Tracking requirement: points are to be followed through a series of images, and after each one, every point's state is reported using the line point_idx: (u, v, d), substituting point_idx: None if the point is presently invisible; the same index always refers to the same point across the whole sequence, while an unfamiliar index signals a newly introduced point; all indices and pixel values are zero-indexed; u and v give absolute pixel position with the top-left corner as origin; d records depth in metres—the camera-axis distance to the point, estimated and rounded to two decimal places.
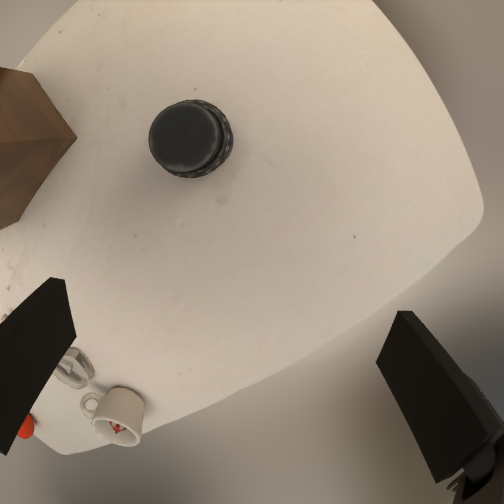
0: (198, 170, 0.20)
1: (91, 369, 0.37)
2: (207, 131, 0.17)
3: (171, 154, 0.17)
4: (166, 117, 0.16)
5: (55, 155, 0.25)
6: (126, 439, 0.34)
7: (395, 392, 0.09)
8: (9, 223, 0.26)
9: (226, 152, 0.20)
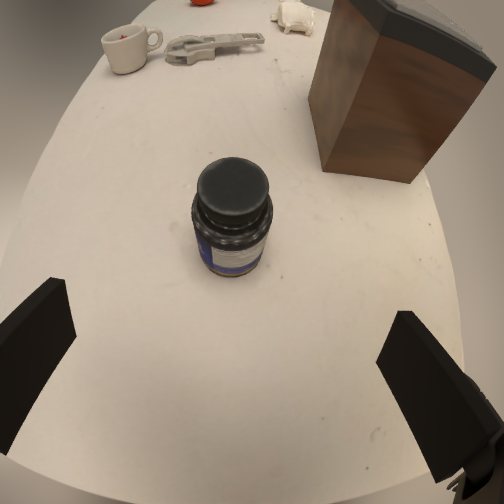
0: None
1: (169, 62, 0.41)
2: (219, 202, 0.18)
3: (227, 168, 0.19)
4: (260, 185, 0.18)
5: (323, 146, 0.32)
6: (111, 36, 0.34)
7: (395, 392, 0.09)
8: (311, 88, 0.36)
9: (195, 222, 0.20)
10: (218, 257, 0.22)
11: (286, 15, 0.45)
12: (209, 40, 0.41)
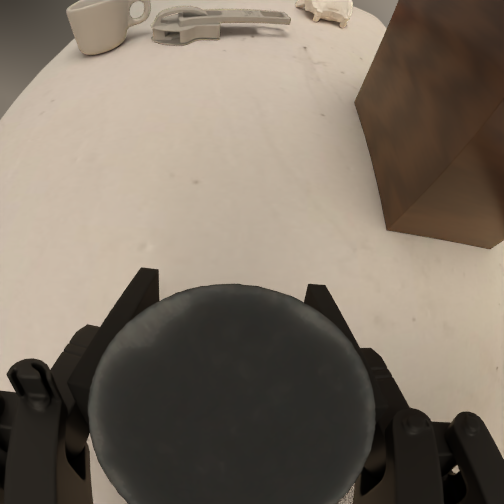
0: None
1: (156, 40, 0.27)
2: None
3: (210, 347, 0.04)
4: (346, 429, 0.04)
5: (392, 185, 0.18)
6: (83, 6, 0.20)
7: None
8: (363, 88, 0.23)
9: None
10: None
11: None
12: (214, 15, 0.27)
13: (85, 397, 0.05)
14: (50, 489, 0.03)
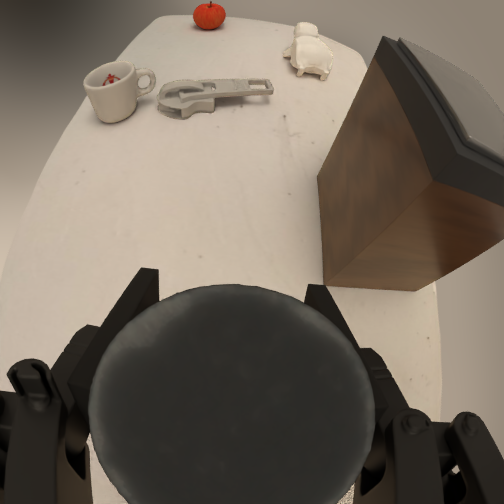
0: None
1: (162, 111, 0.39)
2: None
3: (211, 346, 0.04)
4: (345, 428, 0.04)
5: (328, 256, 0.30)
6: (97, 75, 0.32)
7: None
8: (322, 168, 0.34)
9: None
10: None
11: (300, 55, 0.43)
12: (209, 86, 0.39)
13: (85, 397, 0.05)
14: (50, 489, 0.03)
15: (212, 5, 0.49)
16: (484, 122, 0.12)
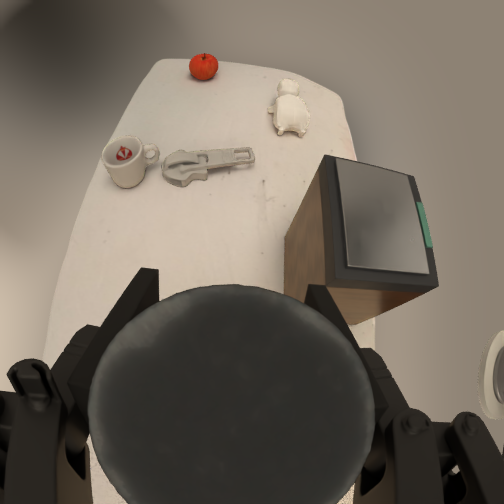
0: None
1: (166, 179, 0.53)
2: None
3: (210, 347, 0.04)
4: (345, 429, 0.04)
5: None
6: (111, 148, 0.46)
7: None
8: (287, 233, 0.48)
9: None
10: None
11: (280, 117, 0.58)
12: (203, 156, 0.53)
13: (85, 397, 0.05)
14: (50, 489, 0.03)
15: (206, 56, 0.63)
16: (377, 240, 0.26)
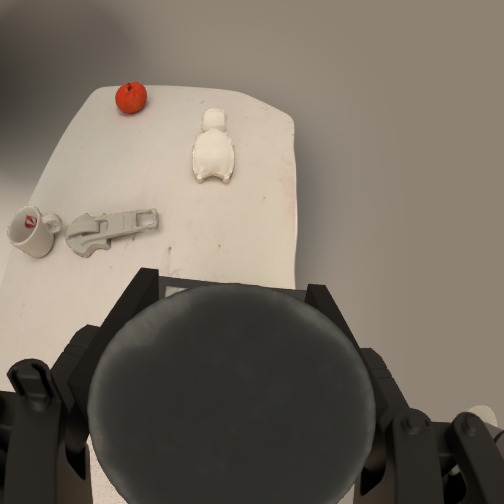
0: None
1: None
2: None
3: (211, 346, 0.04)
4: (346, 428, 0.04)
5: None
6: (17, 219, 0.38)
7: None
8: None
9: None
10: None
11: (197, 162, 0.49)
12: (105, 221, 0.45)
13: (85, 397, 0.05)
14: (50, 489, 0.03)
15: (132, 86, 0.55)
16: None
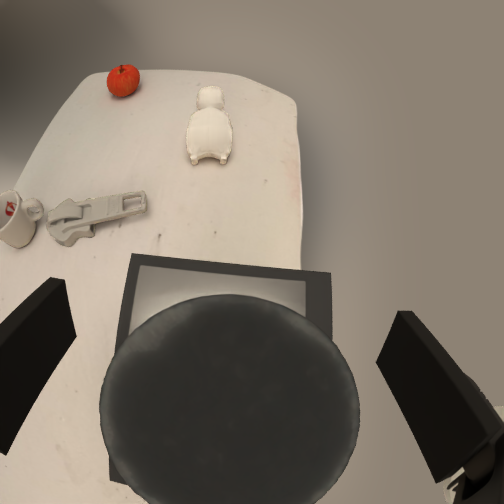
0: None
1: None
2: (182, 493, 0.03)
3: (210, 350, 0.05)
4: (332, 425, 0.04)
5: None
6: None
7: (395, 392, 0.09)
8: None
9: None
10: None
11: (191, 141, 0.44)
12: (89, 206, 0.39)
13: None
14: None
15: (124, 68, 0.49)
16: None
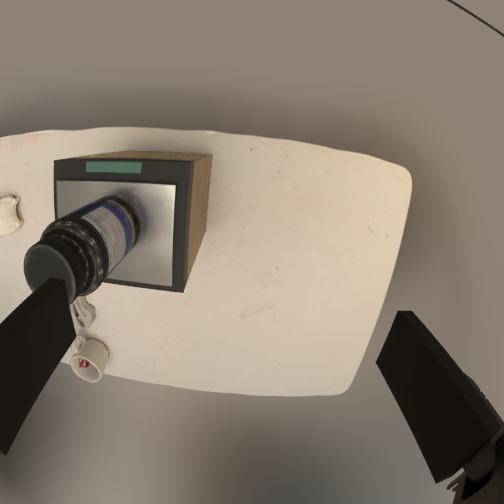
0: None
1: (91, 322, 0.55)
2: None
3: (35, 281, 0.15)
4: (43, 252, 0.14)
5: None
6: (84, 374, 0.52)
7: (395, 392, 0.09)
8: None
9: (87, 294, 0.19)
10: (116, 261, 0.21)
11: (7, 230, 0.42)
12: None
13: None
14: None
15: None
16: (142, 250, 0.26)
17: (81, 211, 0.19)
